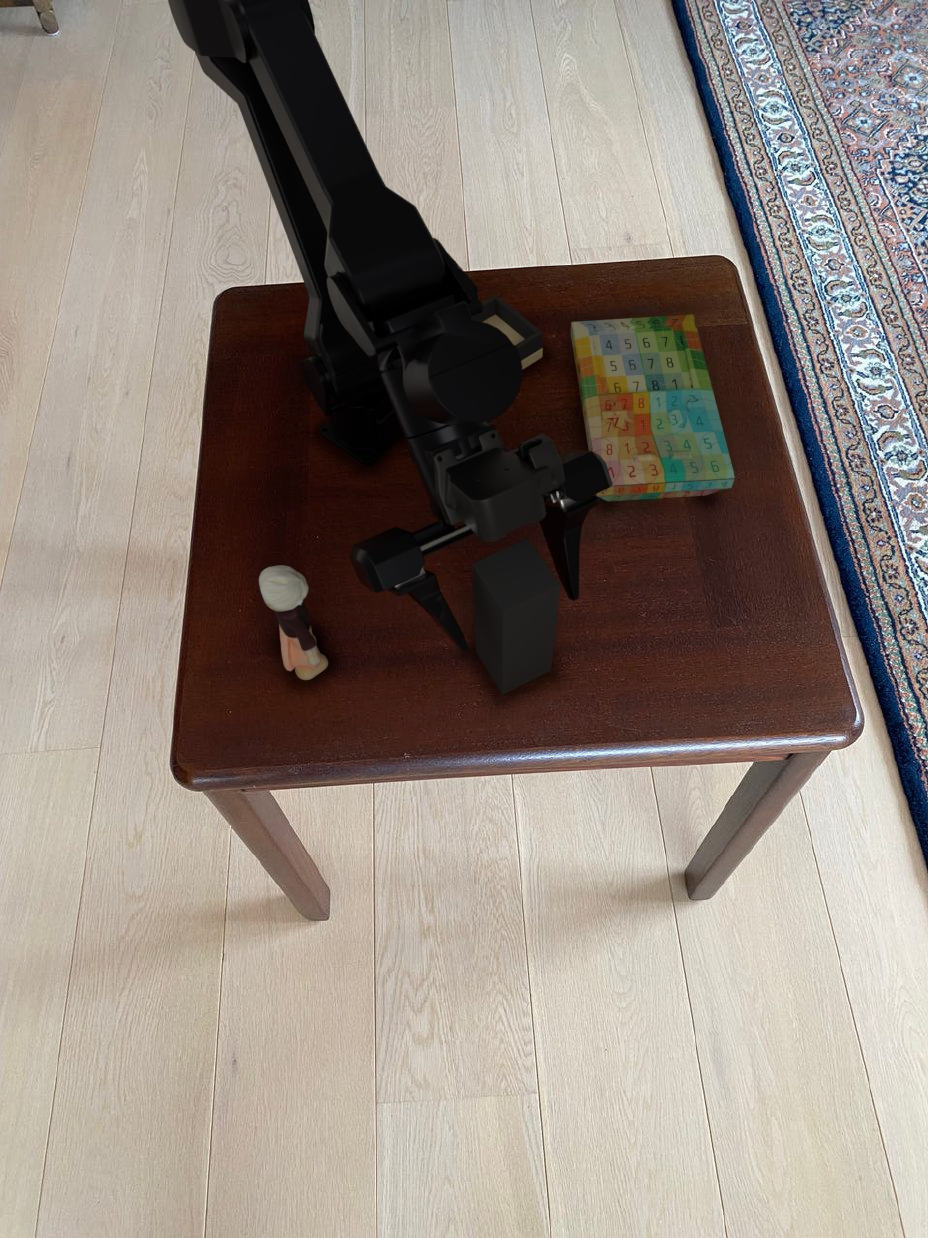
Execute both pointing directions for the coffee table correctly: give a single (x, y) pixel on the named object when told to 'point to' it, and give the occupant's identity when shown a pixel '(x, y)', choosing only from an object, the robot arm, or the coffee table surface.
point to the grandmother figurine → (292, 620)
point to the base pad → (513, 328)
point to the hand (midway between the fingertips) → (520, 625)
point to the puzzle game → (650, 407)
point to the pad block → (515, 614)
